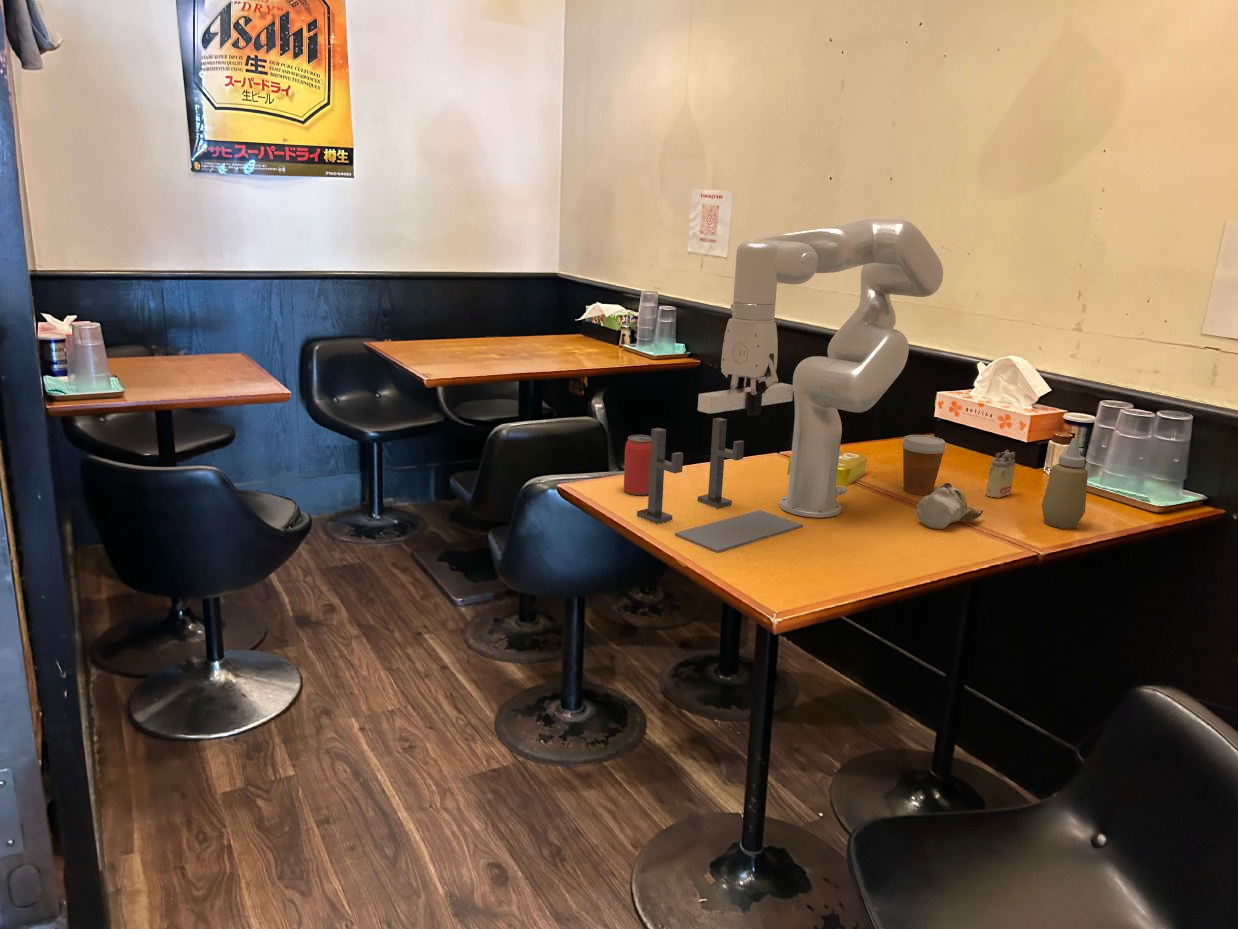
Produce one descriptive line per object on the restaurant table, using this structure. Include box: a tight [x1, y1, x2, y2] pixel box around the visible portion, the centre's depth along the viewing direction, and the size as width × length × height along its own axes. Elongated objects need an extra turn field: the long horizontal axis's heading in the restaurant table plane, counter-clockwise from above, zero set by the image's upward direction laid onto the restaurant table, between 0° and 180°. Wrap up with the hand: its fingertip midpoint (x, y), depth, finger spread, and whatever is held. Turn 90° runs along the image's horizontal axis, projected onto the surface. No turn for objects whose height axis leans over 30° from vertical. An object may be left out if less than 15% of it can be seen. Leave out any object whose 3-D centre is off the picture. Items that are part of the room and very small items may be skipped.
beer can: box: [623, 434, 651, 496], centre depth 190 cm, size 7×7×12 cm
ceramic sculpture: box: [916, 482, 984, 530], centre depth 178 cm, size 11×9×15 cm
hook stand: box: [636, 417, 745, 525], centre depth 177 cm, size 21×9×18 cm, turn 130°
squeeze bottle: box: [1041, 437, 1089, 529], centre depth 178 cm, size 8×8×18 cm
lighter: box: [985, 449, 1016, 498], centre depth 197 cm, size 7×4×10 cm, turn 129°
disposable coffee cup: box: [901, 434, 947, 496], centre depth 198 cm, size 10×10×12 cm
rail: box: [697, 382, 794, 414], centre depth 163 cm, size 22×3×3 cm, turn 129°
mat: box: [674, 509, 804, 554], centre depth 169 cm, size 24×11×1 cm, turn 130°
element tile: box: [787, 451, 868, 486], centre depth 210 cm, size 15×15×5 cm
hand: (746, 412), depth 164 cm, fingers closed on rail, 3 cm apart
